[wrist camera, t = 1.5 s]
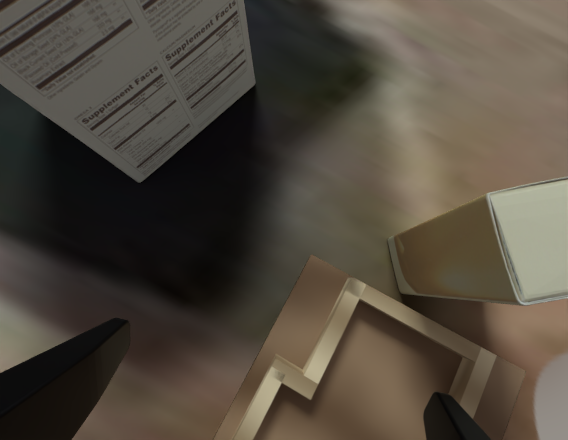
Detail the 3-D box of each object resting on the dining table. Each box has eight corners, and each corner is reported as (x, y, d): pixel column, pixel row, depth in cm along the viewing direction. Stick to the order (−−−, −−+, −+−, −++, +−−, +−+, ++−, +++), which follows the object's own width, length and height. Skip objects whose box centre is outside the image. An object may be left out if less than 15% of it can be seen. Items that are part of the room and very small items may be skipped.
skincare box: (462, 224, 24) (649, 160, 12) (479, 281, 23) (701, 275, 11) (381, 238, 23) (485, 188, 11) (395, 296, 22) (524, 308, 10)
